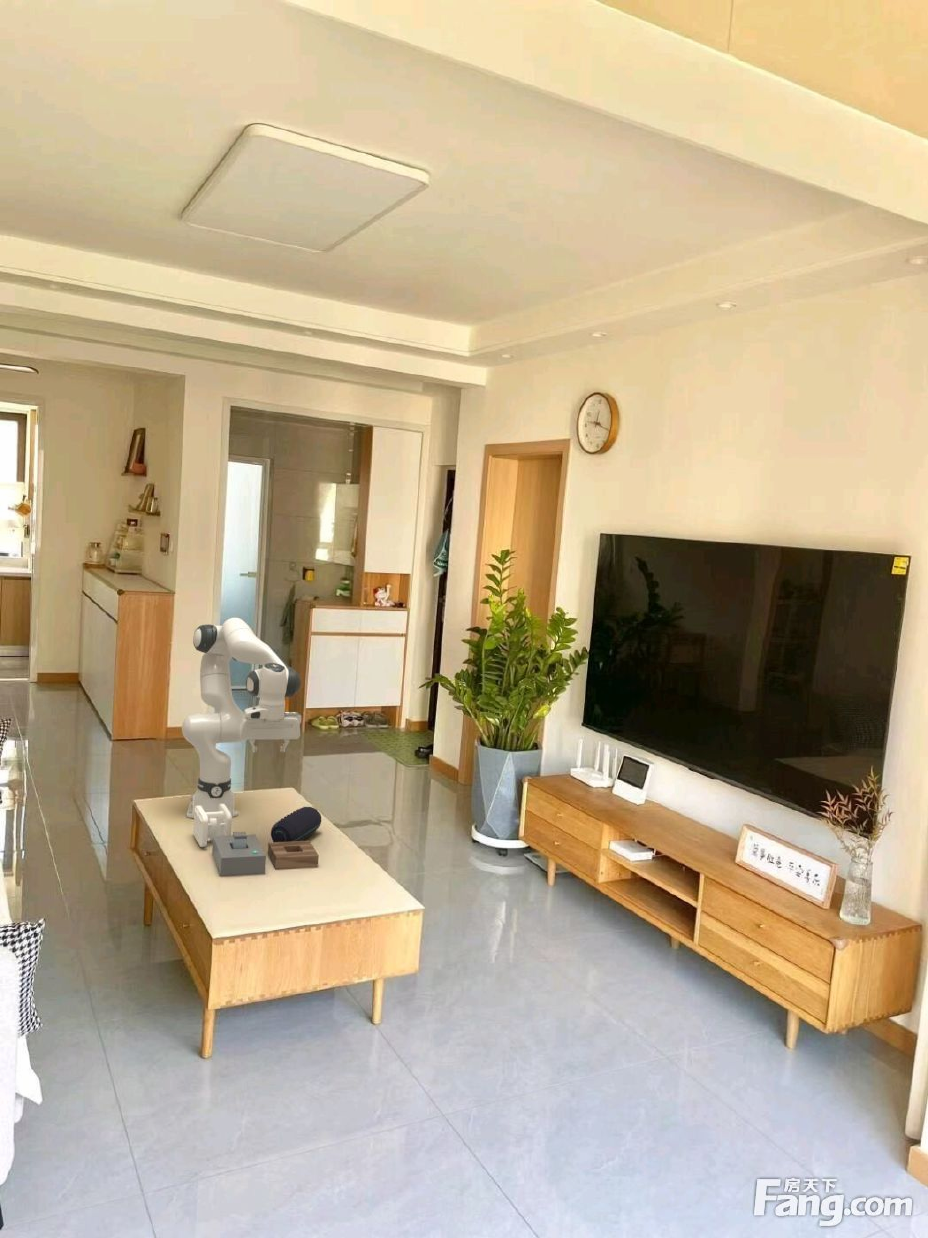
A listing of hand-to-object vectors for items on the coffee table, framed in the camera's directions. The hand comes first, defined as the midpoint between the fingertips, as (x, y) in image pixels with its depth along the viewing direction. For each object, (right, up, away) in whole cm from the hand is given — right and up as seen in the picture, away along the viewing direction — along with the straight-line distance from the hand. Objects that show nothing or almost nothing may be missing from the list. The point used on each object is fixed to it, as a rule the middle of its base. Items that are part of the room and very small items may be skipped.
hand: (268, 751), depth 326 cm
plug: (-8, -35, -11) cm, 38 cm away
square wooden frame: (+9, -36, -4) cm, 37 cm away
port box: (-8, -35, -11) cm, 37 cm away
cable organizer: (-21, -32, +6) cm, 39 cm away
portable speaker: (+6, -34, +15) cm, 37 cm away
